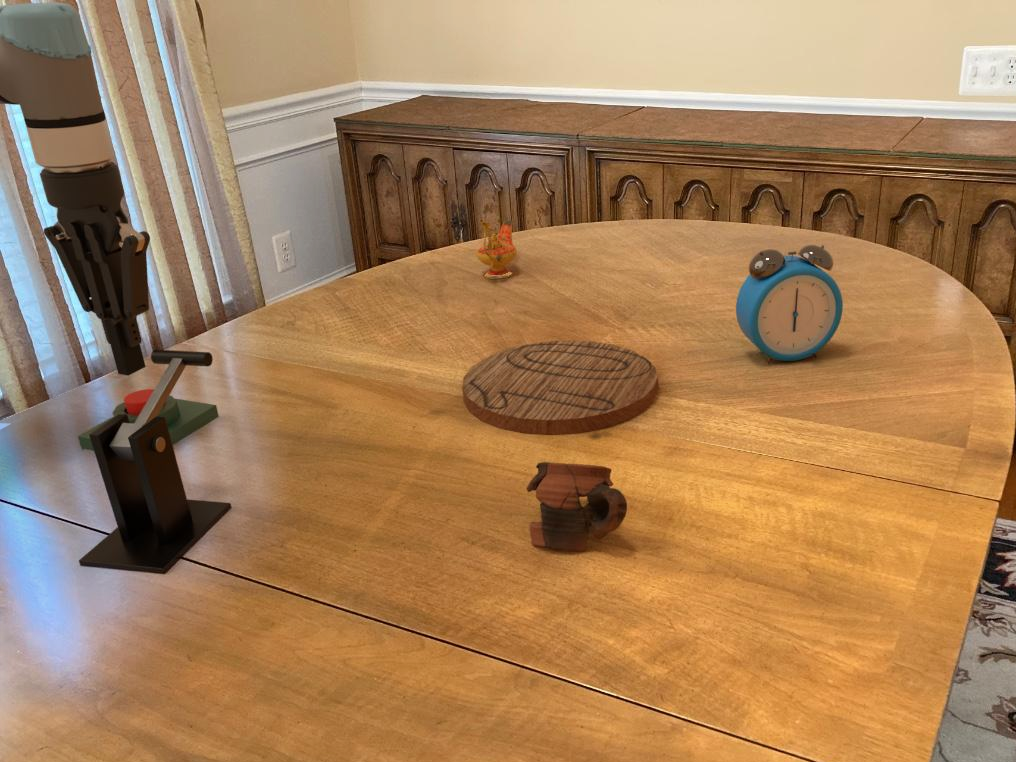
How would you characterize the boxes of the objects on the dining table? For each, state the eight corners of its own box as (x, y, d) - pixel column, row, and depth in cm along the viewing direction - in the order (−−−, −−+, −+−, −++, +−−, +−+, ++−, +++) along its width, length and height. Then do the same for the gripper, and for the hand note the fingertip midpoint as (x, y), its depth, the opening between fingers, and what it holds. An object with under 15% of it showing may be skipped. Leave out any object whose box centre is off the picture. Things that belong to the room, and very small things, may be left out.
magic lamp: (530, 256, 178) (526, 195, 173) (507, 288, 163) (502, 222, 158) (494, 256, 179) (489, 195, 174) (468, 287, 164) (461, 222, 159)
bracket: (155, 505, 103) (124, 396, 97) (233, 512, 102) (205, 401, 96) (81, 571, 93) (41, 452, 87) (166, 579, 91) (131, 459, 85)
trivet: (623, 446, 112) (623, 431, 111) (428, 420, 119) (426, 406, 118) (679, 363, 133) (679, 350, 132) (510, 345, 140) (509, 333, 139)
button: (120, 414, 115) (116, 400, 114) (145, 400, 119) (141, 387, 118) (146, 418, 114) (142, 405, 113) (171, 404, 117) (167, 391, 116)
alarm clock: (748, 369, 130) (753, 259, 123) (732, 352, 135) (736, 246, 128) (839, 357, 133) (849, 249, 125) (820, 341, 138) (828, 236, 131)
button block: (82, 452, 115) (72, 422, 113) (157, 410, 125) (149, 381, 123) (148, 465, 111) (139, 434, 110) (220, 420, 121) (213, 391, 119)
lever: (163, 359, 101) (152, 343, 99) (216, 362, 99) (206, 345, 98) (103, 460, 93) (90, 444, 91) (160, 464, 92) (148, 448, 90)
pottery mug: (502, 543, 96) (509, 459, 96) (568, 543, 103) (574, 465, 103) (594, 555, 88) (601, 464, 88) (658, 555, 95) (664, 470, 95)
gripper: (152, 161, 104) (199, 365, 115) (60, 153, 108) (113, 351, 119) (97, 176, 98) (152, 390, 109) (1, 167, 102) (64, 375, 113)
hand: (132, 370), depth 114 cm, fingers closed
